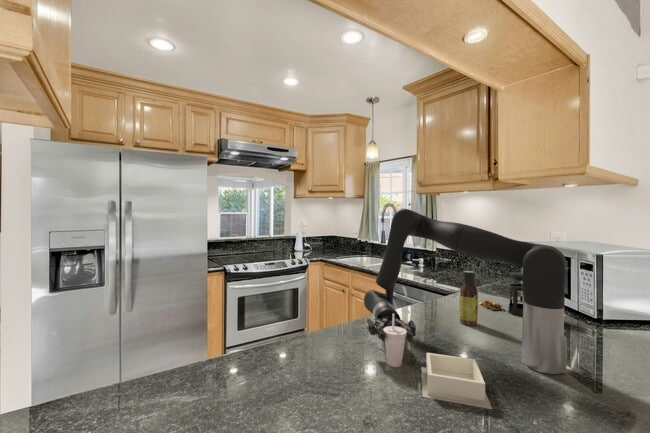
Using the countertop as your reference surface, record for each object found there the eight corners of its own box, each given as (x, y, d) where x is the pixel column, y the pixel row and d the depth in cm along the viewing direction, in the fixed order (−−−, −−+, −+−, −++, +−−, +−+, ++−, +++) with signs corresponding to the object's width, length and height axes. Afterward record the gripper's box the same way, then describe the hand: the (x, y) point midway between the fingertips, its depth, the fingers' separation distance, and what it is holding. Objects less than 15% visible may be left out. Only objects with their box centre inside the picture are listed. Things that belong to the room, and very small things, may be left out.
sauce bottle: (479, 327, 113) (481, 273, 113) (461, 325, 115) (463, 272, 114) (474, 321, 120) (476, 270, 120) (457, 319, 121) (458, 269, 121)
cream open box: (474, 377, 77) (475, 359, 77) (484, 404, 66) (485, 383, 66) (426, 369, 80) (426, 352, 80) (427, 394, 69) (428, 374, 69)
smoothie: (389, 357, 88) (390, 309, 87) (410, 364, 84) (411, 314, 83) (378, 366, 83) (379, 314, 82) (400, 374, 79) (401, 320, 78)
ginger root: (484, 303, 146) (484, 296, 146) (506, 311, 135) (506, 303, 135) (473, 304, 144) (473, 296, 144) (494, 312, 132) (494, 304, 132)
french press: (501, 311, 133) (503, 258, 132) (514, 308, 137) (516, 257, 137) (530, 320, 122) (532, 262, 122) (543, 317, 127) (545, 261, 126)
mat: (478, 377, 78) (478, 375, 78) (492, 411, 64) (492, 409, 64) (421, 368, 82) (421, 366, 82) (422, 399, 68) (422, 396, 68)
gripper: (363, 304, 97) (369, 323, 81) (408, 305, 97) (424, 324, 80) (363, 327, 98) (369, 351, 81) (408, 329, 97) (424, 353, 80)
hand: (396, 337), depth 81 cm, fingers closed on smoothie, 6 cm apart
